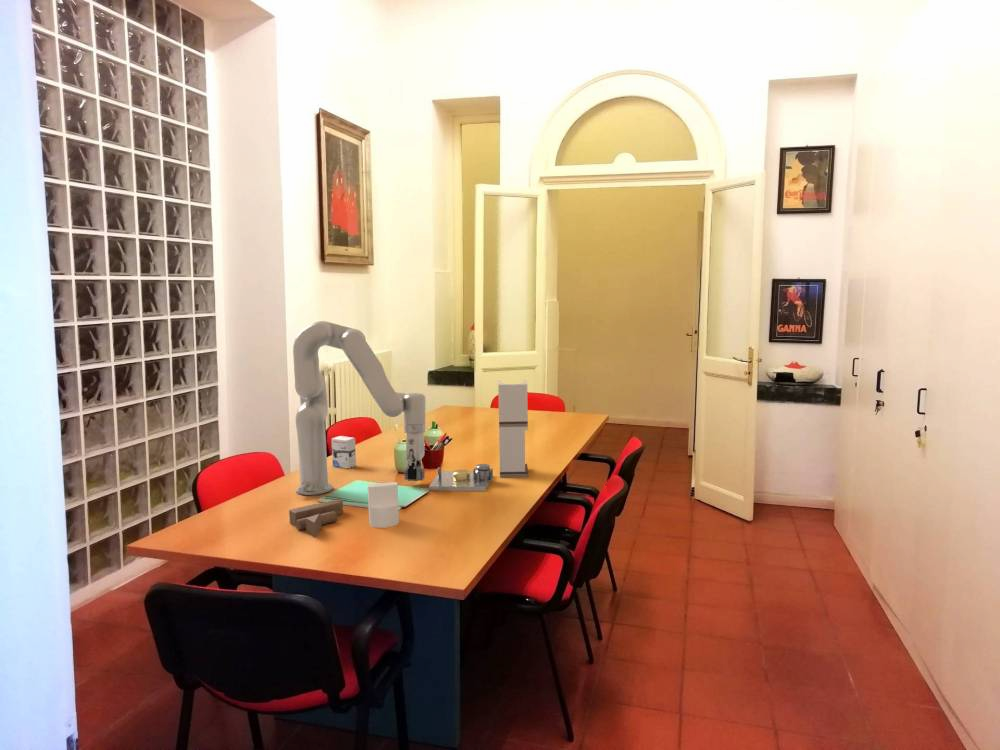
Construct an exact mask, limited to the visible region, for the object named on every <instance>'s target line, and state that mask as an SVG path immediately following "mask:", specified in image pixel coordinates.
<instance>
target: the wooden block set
mask: <svg viewBox="0 0 1000 750" xmlns="http://www.w3.org/2000/svg"><path fill="white" fill-rule="evenodd" d="M288 512H289V513H288V515H289V524H290V523H291V524H290V525H292V526H294V527H295V526H296V527H295V528H296V530H297V531H303V530H305V531H306V532H305V533H306V534H308V535H310V536H311V537H313V538H316V537H317V536H318V535H319V533H320V532H321V530H322V526H323V525H327V524H331V523H334V522H336V521H337V520H338V516H341V515H342V514H343V512H344V502H343V500H342V499H339V498H338V499H335V500H329V501H326V502H320V503H313V504H309V505H304V506H300V507H296V508H290V509H289V511H288Z"/></svg>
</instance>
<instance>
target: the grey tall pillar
mask: <svg viewBox="0 0 1000 750" xmlns="http://www.w3.org/2000/svg"><path fill="white" fill-rule="evenodd" d="M497 384H498V385H497V386H498V387H497V388H498V389H497V390H498V434H499V435H498V436H499V437H498V439H499V440H498V441H499V444H498V445H499V449H498V451H499V452H498V453H499V477H500V478H529V469H528V468H529V466H528V463H526V431H529V427H528V426H529V425H528V424H529V422H528V421H529V418H528V417H529V416H528V415H529V413H528V412H529V410H528V408H529V407H528V383H527V380H526V379H525V380H524V379H523V383H522V382H521V383H512V384H511V383H509V384H508V383H502V382H501V380H498V381H497Z"/></svg>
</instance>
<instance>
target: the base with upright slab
mask: <svg viewBox="0 0 1000 750" xmlns="http://www.w3.org/2000/svg"><path fill="white" fill-rule="evenodd" d="M398 487H399V486H398V482H397V481H394V482H393V481H392V482H384V483H383V482H382V483H371V484H367V501H368V502H367V503H368V504H367V505H368V525H369V526H370V527H373V528H376V529H383V528H384V529H386V528H391V527H394V526H396V525H398V524H399V522H400V517H399V513H400V512H399V511H400V510H399V493H398V492H399V489H398Z"/></svg>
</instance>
